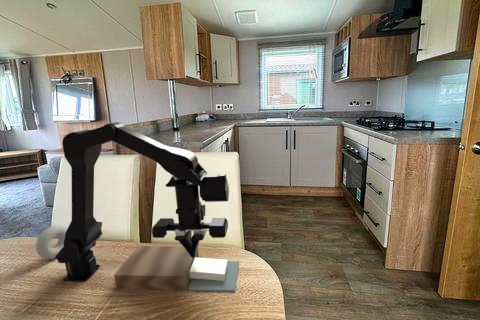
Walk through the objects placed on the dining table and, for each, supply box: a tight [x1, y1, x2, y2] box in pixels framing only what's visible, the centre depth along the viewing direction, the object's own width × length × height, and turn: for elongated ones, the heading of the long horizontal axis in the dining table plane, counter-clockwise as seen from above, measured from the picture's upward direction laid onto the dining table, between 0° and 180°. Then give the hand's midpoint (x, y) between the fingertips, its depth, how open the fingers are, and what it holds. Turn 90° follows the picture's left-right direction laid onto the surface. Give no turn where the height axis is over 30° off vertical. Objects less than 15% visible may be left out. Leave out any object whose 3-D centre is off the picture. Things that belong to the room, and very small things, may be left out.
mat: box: [187, 260, 240, 293], centre depth 68 cm, size 12×12×1 cm
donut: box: [35, 224, 68, 260], centre depth 79 cm, size 10×4×10 cm, turn 162°
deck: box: [113, 245, 200, 291], centre depth 70 cm, size 18×13×4 cm
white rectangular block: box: [189, 257, 228, 281], centre depth 68 cm, size 9×6×2 cm, turn 85°
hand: (193, 256), depth 68 cm, fingers closed
